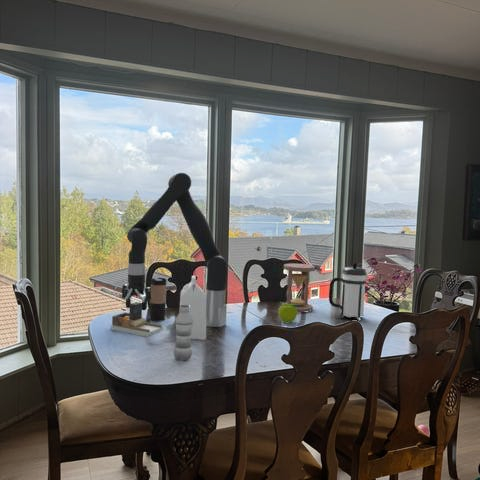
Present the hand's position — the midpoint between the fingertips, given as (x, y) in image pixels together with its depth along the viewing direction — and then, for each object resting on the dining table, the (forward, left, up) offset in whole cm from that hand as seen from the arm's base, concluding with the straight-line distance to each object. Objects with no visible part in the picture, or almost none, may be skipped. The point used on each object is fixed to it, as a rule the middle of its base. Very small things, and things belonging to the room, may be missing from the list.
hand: (136, 308), depth 208 cm
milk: (-26, -6, -10) cm, 28 cm away
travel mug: (+2, -20, -10) cm, 22 cm away
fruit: (-54, -52, -10) cm, 75 cm away
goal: (+7, 0, -8) cm, 11 cm away
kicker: (0, 0, -8) cm, 8 cm away
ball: (+5, 0, -6) cm, 8 cm away
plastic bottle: (-39, +22, -10) cm, 45 cm away
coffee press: (-79, -80, -10) cm, 113 cm away
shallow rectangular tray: (-1, 0, -9) cm, 9 cm away
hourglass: (-49, -83, -10) cm, 97 cm away
